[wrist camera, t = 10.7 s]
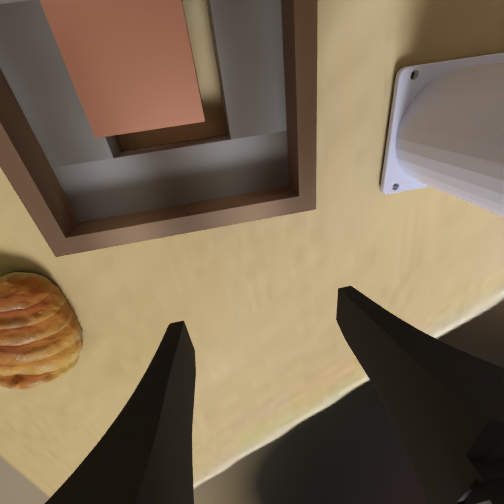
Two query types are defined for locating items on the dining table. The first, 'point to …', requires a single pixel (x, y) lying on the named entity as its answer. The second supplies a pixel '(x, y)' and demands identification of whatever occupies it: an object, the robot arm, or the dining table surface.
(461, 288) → the dining table surface
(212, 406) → the dining table surface
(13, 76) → the socket box
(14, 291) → the pastry
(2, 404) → the dining table surface
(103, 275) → the dining table surface
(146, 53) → the peg
